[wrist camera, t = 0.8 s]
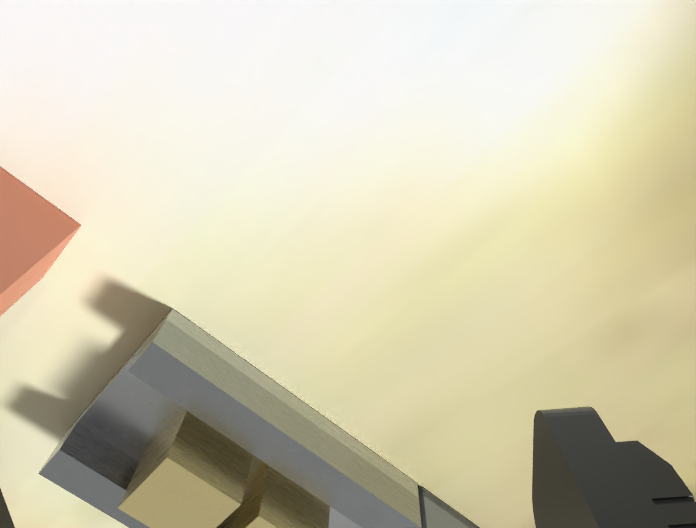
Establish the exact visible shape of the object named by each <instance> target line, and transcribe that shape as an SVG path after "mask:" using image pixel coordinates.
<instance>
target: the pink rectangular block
mask: <svg viewBox="0 0 696 528" xmlns="http://www.w3.org/2000/svg"><path fill="white" fill-rule="evenodd" d="M80 226H81V225H80V224H79V223H77V222H76V221H75V220H73V219H72V218H70V217H69V216H68V215H66V214H65V213H63V212H62V211H61V210H59V209H58V208H57V207H55V206H54V205H52V204H51V203H50V202H48V201H47V200H46V199H44V198H43V197H41V196H40V195H39V194H37V193H36V192H34V191H33V190H32V189H30V188H29V187H28V186H26V185H25V184H23V183H22V182H21V181H19V180H18V179H16V178H15V177H14V176H12V175H11V174H10V173H8V172H7V171H5V170H4V169H3V168H1V167H0V316H1V315H2V314H3V313H4V312H5V311H7V310H8V309H9V308H10V307H11V306H12V305H13V304H14V303H15V302H16V301H17V300H19V299H20V298H21V297H22V296H23V295H24V294H25V293H26V292H27V291H28V290H29V289H31V288H32V287H33V286H34V285H35V284H36V283H37V282H38V281H39V280H40V279H42V278H43V276H44V275H45V274H46V272H47V271H48V269H49V268H50V267H51V265H52V264H53V263H54V261H55V260H56V259H57V257H58V256H59V255H60V253H61V252H62V250H63V249H64V248H65V246H66V245H67V244H68V242H69V241H70V240H71V238H72V237H73V236H74V234H75V233H76V231H77V230H78V229H79V227H80Z"/></svg>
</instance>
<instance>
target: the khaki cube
mask: <svg viewBox="0 0 696 528" xmlns="http://www.w3.org/2000/svg"><path fill="white" fill-rule="evenodd" d="M329 514H330V506H329V505H327V504H326V503H324V502H323V501H321V500H320V499H318V498H317V497H315V496H314V495H312V494H311V493H309V492H308V491H306V490H305V489H303V488H302V487H300V486H299V485H297V484H296V483H294V482H293V481H291V480H290V479H288V478H287V477H285V476H284V475H282V474H281V473H279V472H278V471H276V470H275V469H273V468H272V467H270V466H269V465H267V464H266V463H264V462H263V463H262V464H261V465H260V466H259V467H258V468H256V469H255V470H254V471H253V472H252V473H251V474H250V475H249V476H248V478H247V482H246V486H245V490H244V495H243V499H242V503H241V505H240V506H239V507H238V508H237V509H236V510H235V511H234V512H233V513H231V514H230V515H229V516H228V517H227V518H226V519H225V520H224V521H223V522H222V523H221V524H219V525H218V526H217V528H329Z"/></svg>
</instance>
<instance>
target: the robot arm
mask: <svg viewBox="0 0 696 528" xmlns="http://www.w3.org/2000/svg"><path fill="white" fill-rule="evenodd" d="M532 502H533V512H534V519H535V524H536V528H696V502H695V501H694V499H693V495H692V493H691V492H690V490H689V489H688V488H687V486H686V485H685V484H684V482H683V481H682V479H681V478H680V477H679V475H678V474H677V472H676V471H675V470H674V468H673V467H672V466H671V465H670V464H669V463H668V462H666V461H665V460H663V459H662V458H661V457H659V456H658V455H656V454H655V453H654V452H652V451H651V450H650V449H648V448H647V447H645V446H644V445H643V444H641V443H640V442H638V441H627V442H615V440H614V439H613V437H612V436H611V434H610V432H609V431H608V429H607V428H606V426H605V425H604V423H603V421H602V420H601V418H600V417H599V415H598V413H597V412H596V411H595V410H594V409H593V408H592V407H578V408H565V409H551V410H538V411H537V412H536V414H535V417H534V435H533V483H532ZM0 528H15V527H14V524H13V522H12V519H11V516H10V514H9V511H8V508H7V505H6V503H5V500H4V497H3V495H2V492H1V489H0Z"/></svg>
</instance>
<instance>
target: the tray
mask: <svg viewBox="0 0 696 528" xmlns="http://www.w3.org/2000/svg"><path fill="white" fill-rule="evenodd" d="M418 495H419V506H420V516H421V527H422V528H479V527H478V526H476V525H475V524H473V523H472V522H471V521H469V520H468V519H466V518H465V517H464V516H462V515H461V514H459V513H458V512H457V511H455V510H454V509H452V508H451V507H450V506H448V505H447V504H445V503H444V502H443V501H441V500H440V499H438V498H437V497H436V496H434V495H433V494H431V493H430V492H429V491H427V490H426V489H424V488H421V489H420V490H419V491H418Z"/></svg>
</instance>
